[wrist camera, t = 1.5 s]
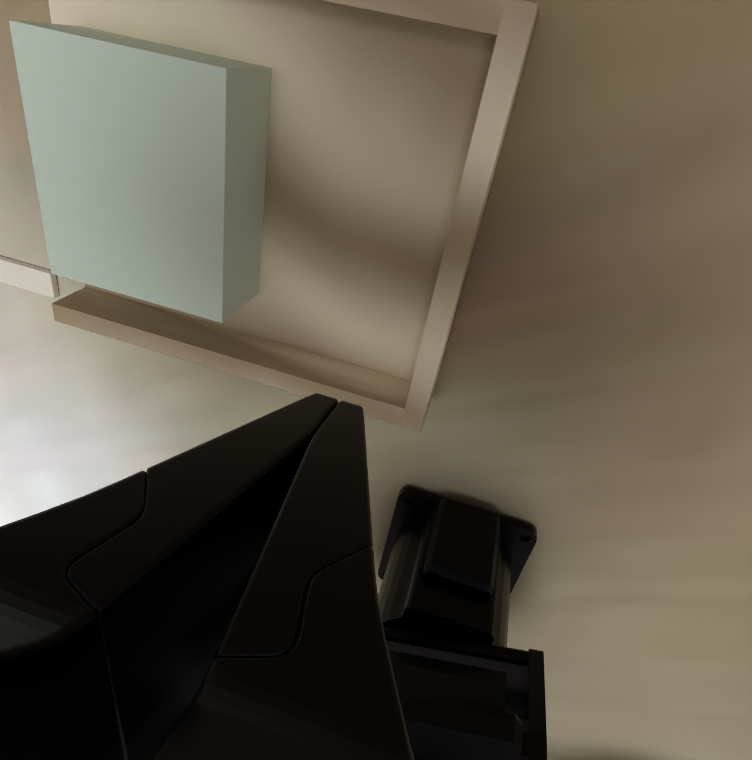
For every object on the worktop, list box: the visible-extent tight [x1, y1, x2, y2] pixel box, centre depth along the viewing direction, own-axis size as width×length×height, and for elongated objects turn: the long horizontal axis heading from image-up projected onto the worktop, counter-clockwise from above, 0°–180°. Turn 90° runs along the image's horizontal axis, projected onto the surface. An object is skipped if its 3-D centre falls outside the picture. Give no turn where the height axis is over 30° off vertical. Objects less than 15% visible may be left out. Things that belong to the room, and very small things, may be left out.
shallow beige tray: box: [49, 0, 539, 432], centre depth 19 cm, size 14×16×2 cm
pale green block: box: [9, 20, 272, 323], centre depth 19 cm, size 8×7×3 cm
